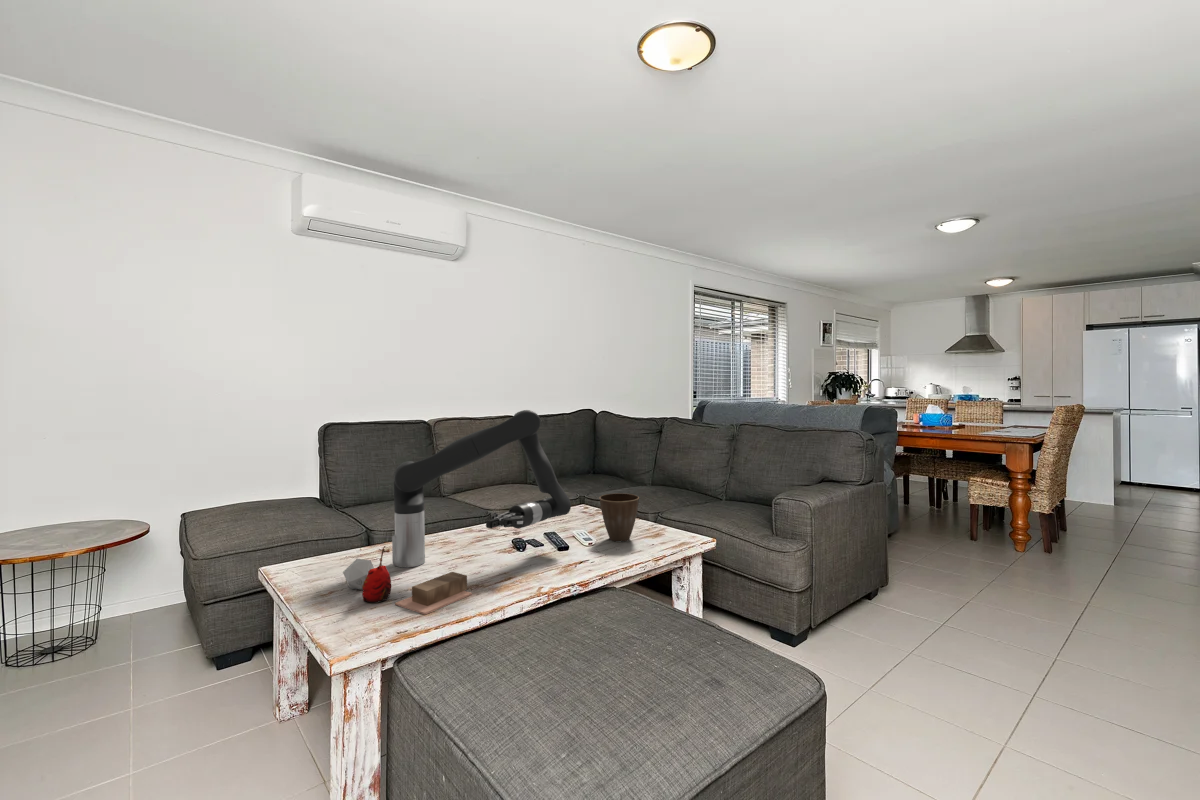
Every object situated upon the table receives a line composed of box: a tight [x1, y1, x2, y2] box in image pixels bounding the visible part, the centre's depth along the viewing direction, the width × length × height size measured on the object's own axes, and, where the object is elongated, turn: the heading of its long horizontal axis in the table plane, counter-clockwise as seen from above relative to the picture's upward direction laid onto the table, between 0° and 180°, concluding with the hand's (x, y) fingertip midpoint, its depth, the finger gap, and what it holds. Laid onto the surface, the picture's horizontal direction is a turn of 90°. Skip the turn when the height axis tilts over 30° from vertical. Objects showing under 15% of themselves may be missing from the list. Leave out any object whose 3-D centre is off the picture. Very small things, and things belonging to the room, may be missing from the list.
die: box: [342, 558, 375, 591], centre depth 159 cm, size 8×9×10 cm
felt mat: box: [394, 590, 473, 616], centre depth 150 cm, size 16×12×1 cm
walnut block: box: [411, 571, 468, 606], centre depth 151 cm, size 4×6×14 cm
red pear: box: [361, 545, 392, 604], centre depth 150 cm, size 8×7×15 cm
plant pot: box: [599, 492, 640, 542], centre depth 208 cm, size 15×15×16 cm
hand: (487, 524), depth 167 cm, fingers closed
